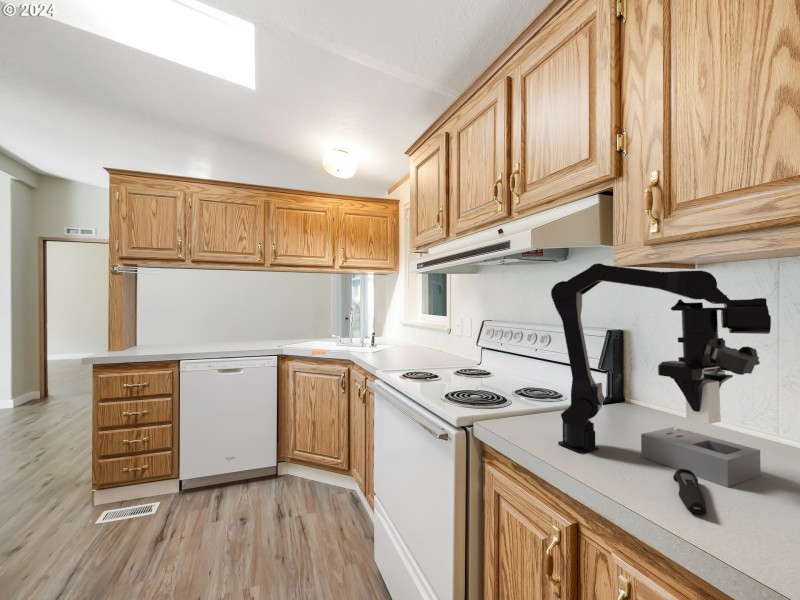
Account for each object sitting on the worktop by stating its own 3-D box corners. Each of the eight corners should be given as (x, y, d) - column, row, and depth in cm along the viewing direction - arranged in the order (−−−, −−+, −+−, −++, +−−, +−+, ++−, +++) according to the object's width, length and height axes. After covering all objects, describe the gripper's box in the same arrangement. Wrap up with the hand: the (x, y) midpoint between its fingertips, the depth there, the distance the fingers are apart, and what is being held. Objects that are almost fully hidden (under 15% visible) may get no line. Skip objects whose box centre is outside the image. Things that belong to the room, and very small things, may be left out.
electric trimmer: (682, 518, 61) (682, 498, 61) (672, 479, 74) (672, 463, 74) (712, 525, 59) (712, 504, 59) (696, 484, 72) (696, 467, 72)
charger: (686, 418, 78) (685, 378, 78) (698, 416, 80) (696, 377, 80) (708, 424, 74) (707, 381, 75) (720, 421, 76) (719, 380, 76)
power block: (641, 456, 85) (641, 433, 85) (673, 448, 90) (673, 426, 90) (727, 487, 70) (727, 458, 70) (760, 475, 75) (760, 448, 76)
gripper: (720, 336, 66) (723, 427, 66) (774, 333, 74) (778, 414, 74) (655, 333, 77) (657, 412, 76) (709, 330, 84) (711, 401, 84)
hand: (702, 410), depth 77 cm, fingers closed on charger, 4 cm apart
